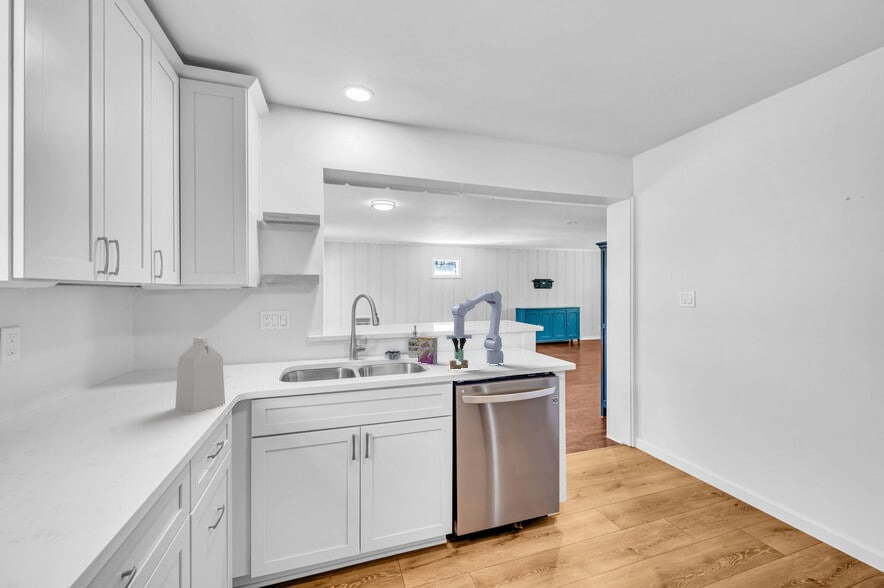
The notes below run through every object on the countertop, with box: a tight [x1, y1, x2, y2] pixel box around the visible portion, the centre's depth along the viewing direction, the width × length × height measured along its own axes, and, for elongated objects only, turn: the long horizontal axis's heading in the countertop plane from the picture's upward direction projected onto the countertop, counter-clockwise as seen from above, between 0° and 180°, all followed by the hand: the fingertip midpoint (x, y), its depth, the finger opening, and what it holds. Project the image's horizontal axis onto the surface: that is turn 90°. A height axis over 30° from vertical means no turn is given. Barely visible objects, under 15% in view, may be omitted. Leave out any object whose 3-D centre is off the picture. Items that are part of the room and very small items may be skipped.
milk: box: [174, 337, 226, 414], centre depth 142 cm, size 12×12×26 cm
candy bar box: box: [417, 335, 438, 365], centre depth 224 cm, size 11×5×16 cm, turn 58°
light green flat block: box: [453, 347, 465, 363], centre depth 206 cm, size 2×10×6 cm, turn 17°
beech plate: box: [449, 359, 469, 369], centre depth 206 cm, size 10×2×5 cm, turn 107°
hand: (458, 352), depth 206 cm, fingers closed on light green flat block, 2 cm apart
